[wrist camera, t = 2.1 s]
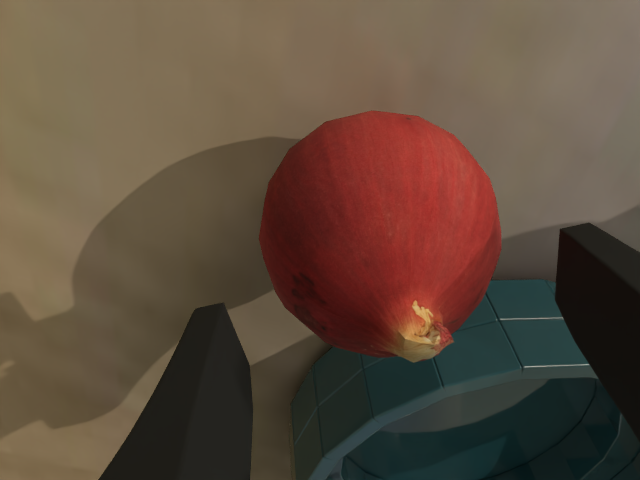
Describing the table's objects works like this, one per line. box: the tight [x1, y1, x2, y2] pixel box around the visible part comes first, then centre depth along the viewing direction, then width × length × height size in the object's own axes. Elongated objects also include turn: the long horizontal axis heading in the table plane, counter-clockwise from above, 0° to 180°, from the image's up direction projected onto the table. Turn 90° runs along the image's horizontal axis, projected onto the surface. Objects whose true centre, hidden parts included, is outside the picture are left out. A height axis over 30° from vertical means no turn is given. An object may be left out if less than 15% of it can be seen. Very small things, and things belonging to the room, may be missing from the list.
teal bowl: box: [289, 279, 640, 480], centre depth 23 cm, size 15×15×4 cm
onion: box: [259, 111, 501, 363], centre depth 14 cm, size 6×6×8 cm
